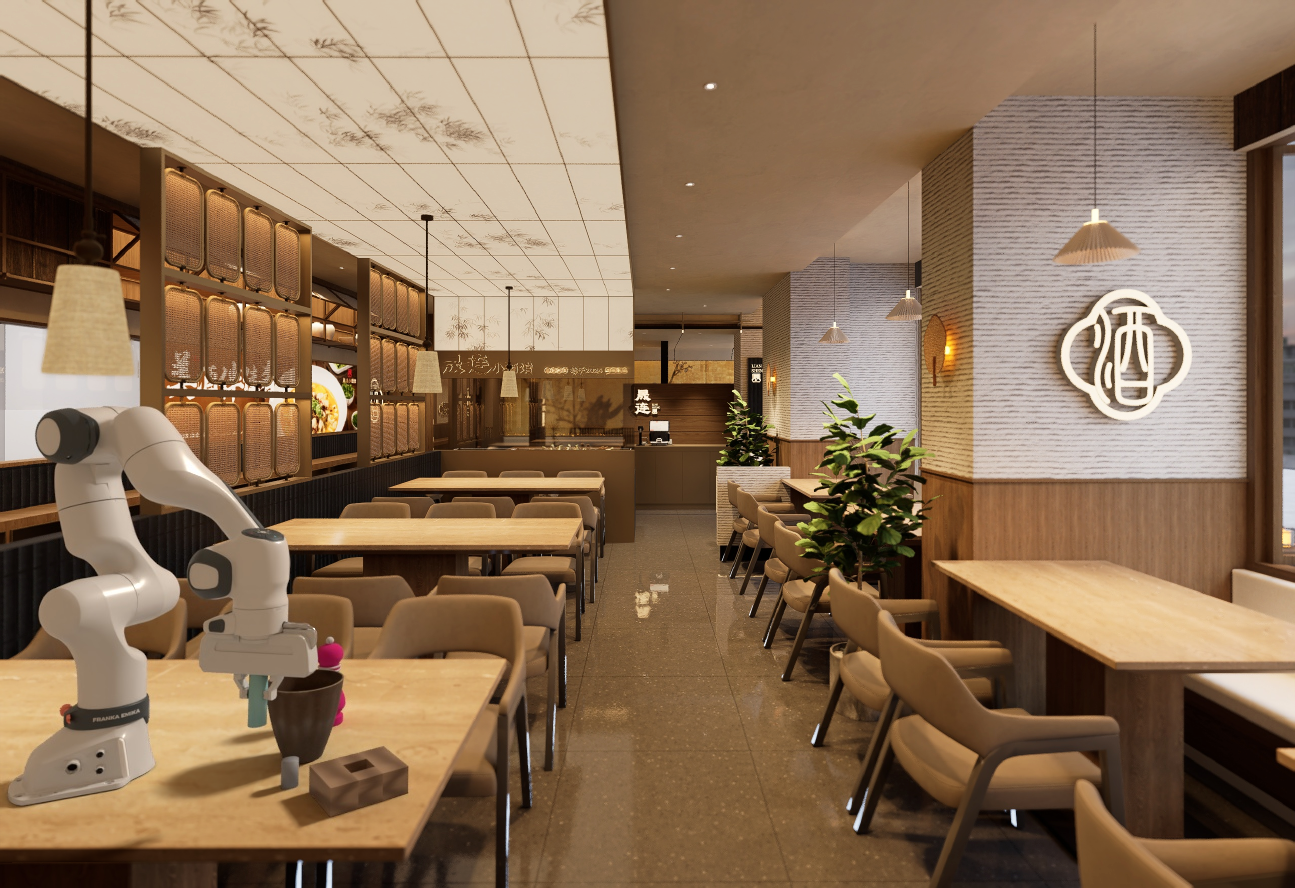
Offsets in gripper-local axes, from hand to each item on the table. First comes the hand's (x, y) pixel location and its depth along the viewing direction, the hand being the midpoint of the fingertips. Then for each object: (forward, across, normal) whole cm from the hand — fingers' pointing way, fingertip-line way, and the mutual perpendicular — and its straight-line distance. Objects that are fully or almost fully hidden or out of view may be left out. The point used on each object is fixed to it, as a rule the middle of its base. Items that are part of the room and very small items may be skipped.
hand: (257, 698), depth 130 cm
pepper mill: (+20, +7, -40) cm, 46 cm away
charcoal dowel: (+20, -1, -9) cm, 22 cm away
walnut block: (+19, -15, -8) cm, 26 cm away
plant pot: (+20, +3, -22) cm, 30 cm away
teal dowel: (+5, 0, 0) cm, 5 cm away
